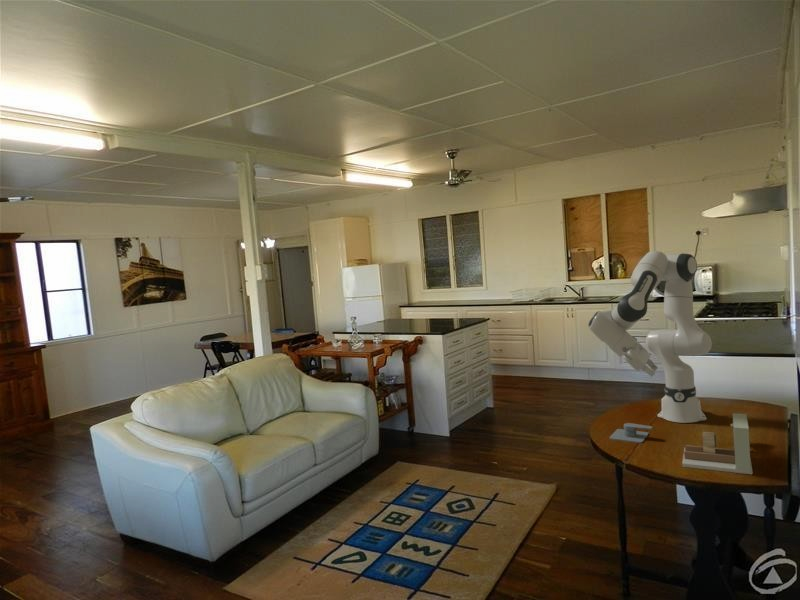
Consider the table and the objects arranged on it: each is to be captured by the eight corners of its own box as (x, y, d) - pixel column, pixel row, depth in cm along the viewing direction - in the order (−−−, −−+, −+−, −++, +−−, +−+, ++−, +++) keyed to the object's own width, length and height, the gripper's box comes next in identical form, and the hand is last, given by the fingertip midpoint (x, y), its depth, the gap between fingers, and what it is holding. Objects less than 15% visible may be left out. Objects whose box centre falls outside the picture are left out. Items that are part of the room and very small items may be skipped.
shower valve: (648, 431, 201) (608, 427, 210) (649, 445, 201) (609, 440, 210) (655, 422, 211) (616, 418, 220) (656, 435, 211) (617, 430, 220)
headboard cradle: (684, 450, 192) (682, 410, 191) (749, 456, 182) (747, 414, 181) (682, 466, 179) (680, 423, 178) (752, 474, 168) (750, 428, 167)
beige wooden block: (703, 455, 184) (702, 431, 183) (716, 456, 182) (715, 432, 181) (703, 458, 181) (702, 435, 180) (716, 460, 179) (715, 436, 178)
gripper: (627, 345, 188) (658, 372, 184) (634, 336, 206) (663, 360, 201) (614, 357, 191) (645, 384, 186) (623, 347, 208) (651, 371, 204)
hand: (655, 372), depth 194 cm, fingers open, 8 cm apart
